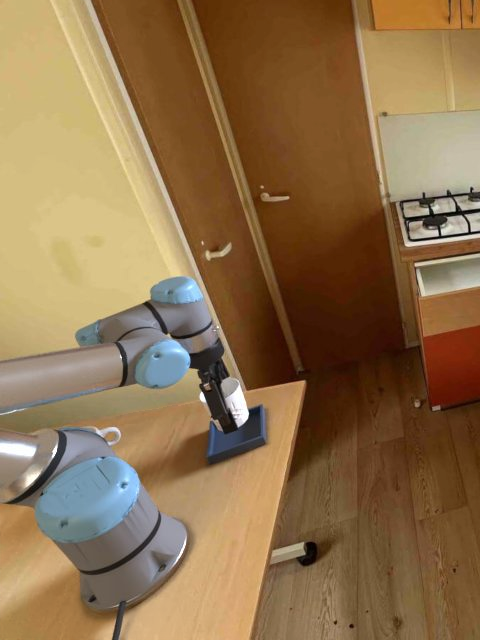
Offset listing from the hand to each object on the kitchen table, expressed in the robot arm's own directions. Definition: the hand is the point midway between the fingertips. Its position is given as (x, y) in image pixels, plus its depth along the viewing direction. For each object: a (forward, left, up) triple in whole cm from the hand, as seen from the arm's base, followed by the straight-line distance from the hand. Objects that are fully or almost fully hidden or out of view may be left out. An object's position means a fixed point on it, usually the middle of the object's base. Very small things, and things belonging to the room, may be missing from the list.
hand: (232, 418), depth 101 cm
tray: (0, 0, -6) cm, 6 cm away
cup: (+8, +29, -6) cm, 30 cm away
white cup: (0, 0, -1) cm, 1 cm away
